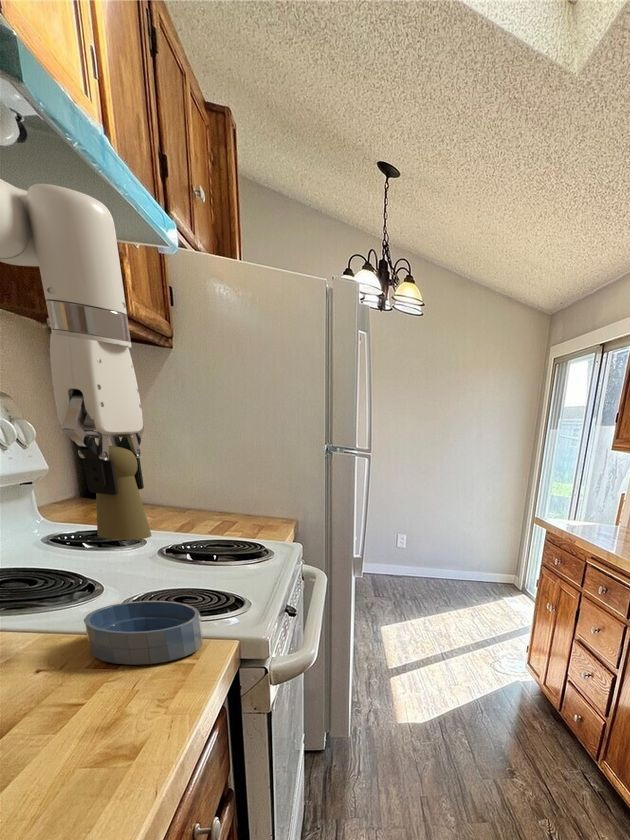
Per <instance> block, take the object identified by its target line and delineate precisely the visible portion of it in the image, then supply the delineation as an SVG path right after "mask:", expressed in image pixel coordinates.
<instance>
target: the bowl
mask: <svg viewBox="0 0 630 840" xmlns="http://www.w3.org/2000/svg"><path fill="white" fill-rule="evenodd" d="M201 618H202V617H201V612H200V611H199V609H197V608H196V607H194V606H192V605H189V604H187V603H183V602H177V601H168V600H139V601H128V602H122V603H121V602H120V603H116V604H110V605H106V606H104V607H100V608H97V609H96V610H93V611H91V612H90V613H87V615H85V617H84V618H83V624H84V629H85V632H86V636H87V640H88V645H89V650H90V652H91V654H92V656H93V657H94V658H96V659H98V660H100V661H102V662H105V663H106V662H107V663H111V664H118V665H127V666H128V665H129V666H131V665H132V666H146V665H156V664H162V663H167V662H172V661H175V660H179V659H181V658H184V657H187V656H189V655H192V654H193V653H196V652H198V650H199V649H200V648H202V647H203V645H204V634H203V627H202V619H201Z"/></svg>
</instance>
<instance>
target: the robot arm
mask: <svg viewBox="0 0 630 840" xmlns="http://www.w3.org/2000/svg"><path fill="white" fill-rule="evenodd" d="M118 247H119V246H118V241H117V232H116V227H115V222H114V218H113V216H112V213H111V212H110V210H109V209H108V207H107V206H106V205H105V204H104V203H103V202H101V201H100V200H98V199H97V198H95V197H93V196H91V195H88V194H86V193H84V192H80V191H77V190H74V189H71V188H68V187H64V186H59V185H55V184H49V183H34V184H32V185H31V186H29V188H28V189H27V190H25V189H22V188H19V187H16V186H15V185H13V184H11V183H9V182H7V181H6V180H3V179H1V178H0V263H3V264H8V265H13V266H19V267H22V266H23V267H38V268H39V273H40V279H41V283H42V289H43V294H44V299H45V304H46V310H47V315H48V319H49V325H50V329H51V330H50V331H51V333H50V335H49V336H50V337H49V338H50V339H49V358H50V360H49V361H50V372H51V380H52V389H53V395H54V402H55V403H54V404H55V407H56V414H57V419H58V422H59V424H60V426H61V427H62V430H63V432H64V433H65V434H66V435H67V436H68V437H69V439H70V440H71V441H72V443H73V445H74V446H75V447H76V449H77V454H78V457H80V458H81V459H82V462H83V463H82V464H83V468H84V474H85V479H86V484H87V489H88V492H89V493H92V494H93V493H94V494H96V493H100V494H109V495H116V494H118V487H117V481H116V475H115V469H114V463H113V461H109V460H108V459H109V446H110V443H111V446H116V447H121V448H124V449H128V450H130V451H131V452H132V453H133V454H134V455H135V457H136V460H137V465H138V467H137V472H136V473H135V475H134V477H135V481H136V484H137V487H138V490H143V489H144V487H145V486H144V479H143V478H144V477H143V472H142V465H141V456H142V451H141V448H140V446H141V443H142V436H143V434H144V432H145V426H144V420H143V410H142V403H141V397H140V391H139V386H138V380H137V376H136V372H135V367H134V363H133V360H132V355H131V351H130V349H132V348H133V347H132V340H131V334H130V325H129V319H128V311H127V305H126V297H125V291H124V289H125V288H124V283H123V275H122V270H121V263H120V262H121V261H120V253H119V248H118ZM120 438H121V439H120ZM94 439H97V442H96V441H95V440H94Z"/></svg>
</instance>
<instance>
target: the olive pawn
mask: <svg viewBox="0 0 630 840" xmlns="http://www.w3.org/2000/svg"><path fill="white" fill-rule="evenodd" d="M108 460H109V461H113V463H114V469H115V475H116V481H117V487H118V494H116V495H109V494H100V493H95V494H96V495H95V496H96V497H95V499H96V500H95V501H96V502H95V503H96V531H97V532H96V533H97V536H98V537H99V538H103V539H107V540H116V541H135V540H137V541H139V540H145V539H149V538H151V537H152V532H151V528H150V526H149V522H148V518H147V515H146V511H145V508H144V505H143V501H142V498H141V495H140V491H139V489H138V487H137V484H136V481H135V477H134V475H135V473H136V472H137V467H138V465H137V460H136V457H135V455H134V454H133V453H132V452H131V451H130V450H128V449H124V448H121V447H116V446H112V445H109V459H108Z"/></svg>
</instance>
